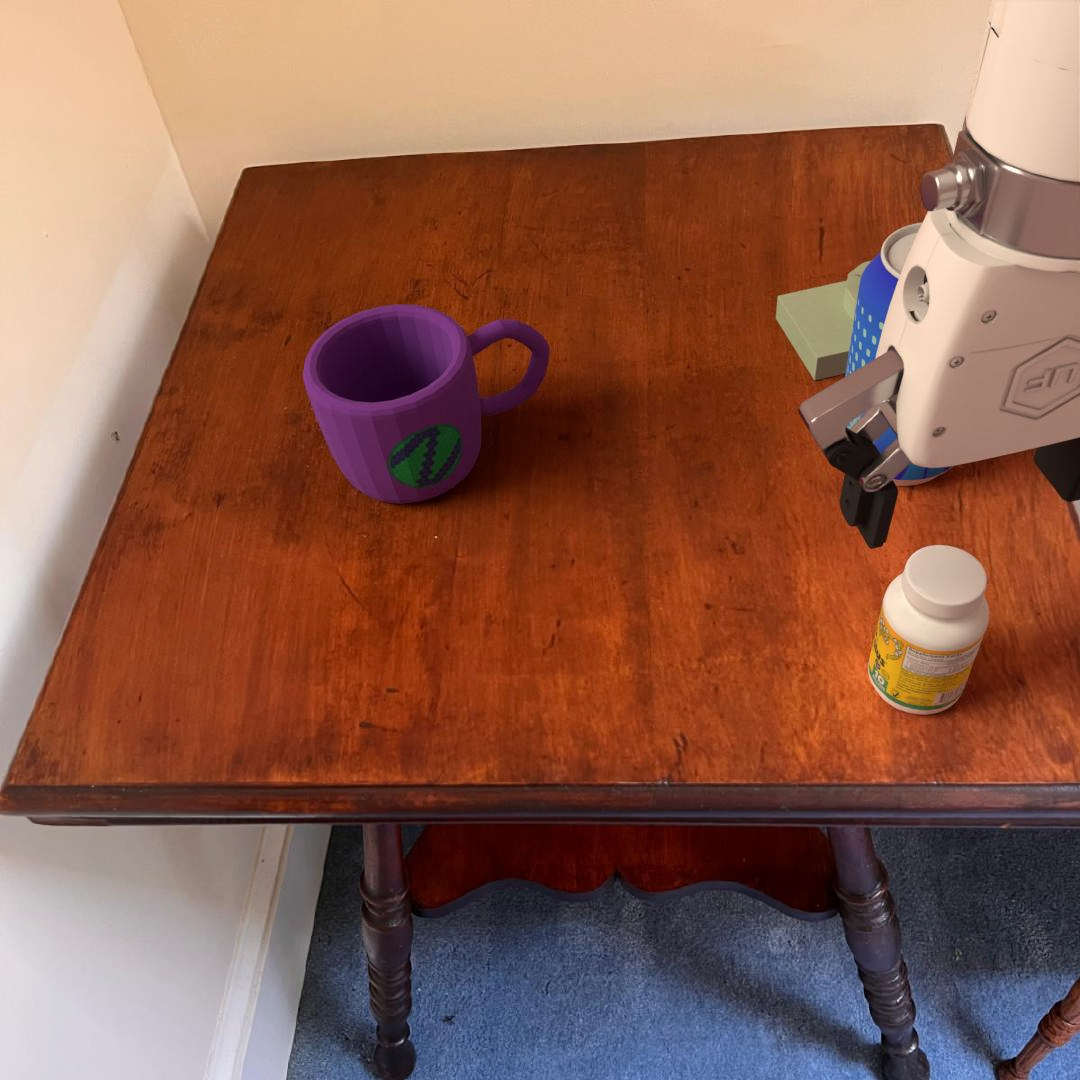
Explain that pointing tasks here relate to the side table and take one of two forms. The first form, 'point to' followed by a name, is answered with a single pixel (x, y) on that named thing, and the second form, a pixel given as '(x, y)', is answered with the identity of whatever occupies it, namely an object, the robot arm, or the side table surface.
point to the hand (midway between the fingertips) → (960, 503)
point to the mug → (409, 397)
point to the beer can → (869, 326)
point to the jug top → (821, 323)
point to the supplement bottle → (929, 630)
